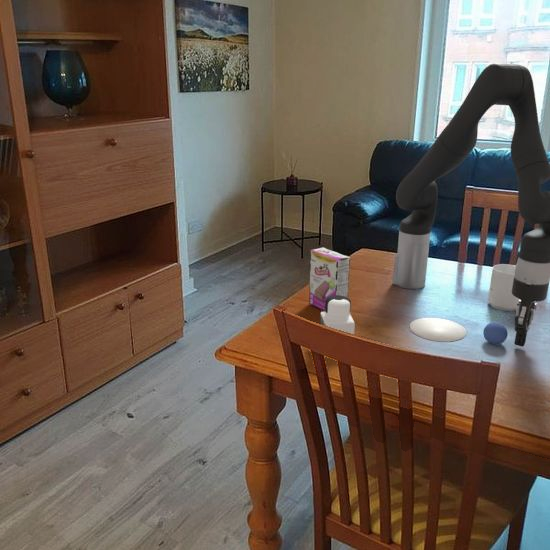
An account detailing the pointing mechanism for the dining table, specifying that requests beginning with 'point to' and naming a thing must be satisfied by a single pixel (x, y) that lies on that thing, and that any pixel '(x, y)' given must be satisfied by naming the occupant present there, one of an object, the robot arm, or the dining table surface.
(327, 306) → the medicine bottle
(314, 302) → the candy bar box
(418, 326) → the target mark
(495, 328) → the ball
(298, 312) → the dining table surface
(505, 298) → the mug
